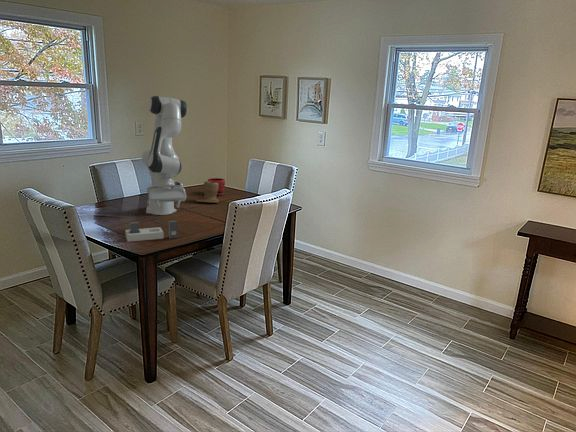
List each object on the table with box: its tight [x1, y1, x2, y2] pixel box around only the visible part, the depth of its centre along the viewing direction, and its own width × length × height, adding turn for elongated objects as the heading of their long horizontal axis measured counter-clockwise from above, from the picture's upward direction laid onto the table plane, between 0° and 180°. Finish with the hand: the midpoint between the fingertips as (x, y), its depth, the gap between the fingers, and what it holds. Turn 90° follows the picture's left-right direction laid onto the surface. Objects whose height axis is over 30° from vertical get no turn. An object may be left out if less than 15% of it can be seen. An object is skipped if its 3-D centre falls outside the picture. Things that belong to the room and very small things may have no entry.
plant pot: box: [207, 177, 226, 197], centre depth 329 cm, size 13×13×12 cm
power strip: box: [125, 221, 165, 243], centre depth 231 cm, size 19×18×8 cm
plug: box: [168, 220, 179, 240], centre depth 230 cm, size 3×4×9 cm
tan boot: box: [196, 180, 220, 204], centre depth 305 cm, size 15×12×15 cm
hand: (169, 207), depth 236 cm, fingers open, 8 cm apart
